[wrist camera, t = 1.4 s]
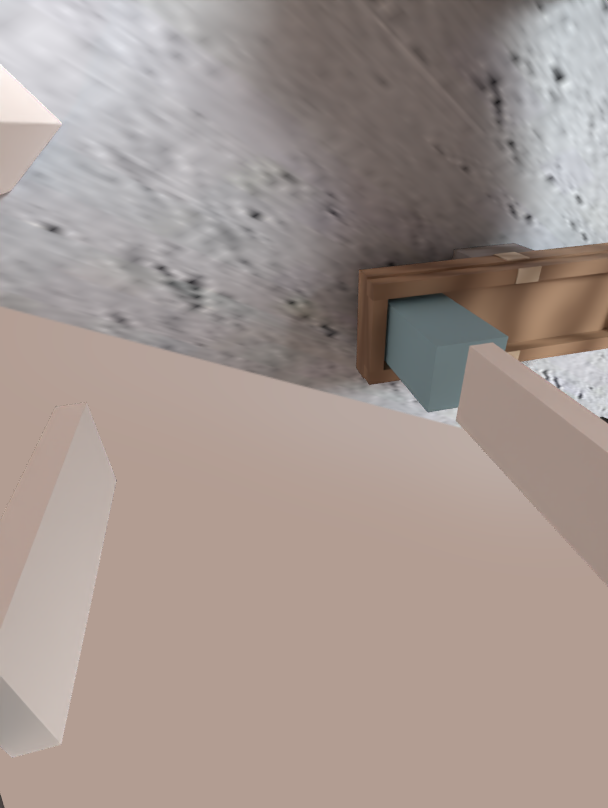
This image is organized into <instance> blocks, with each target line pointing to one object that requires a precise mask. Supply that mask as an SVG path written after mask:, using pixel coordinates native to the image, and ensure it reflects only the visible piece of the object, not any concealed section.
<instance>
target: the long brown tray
mask: <svg viewBox="0 0 608 808" xmlns="http://www.w3.org/2000/svg"><path fill="white" fill-rule="evenodd" d="M437 293H443V294H444V295H446V296H447V297H449V298H450V299H452V300H453V301H455V302H456V303H458V304H459V305H461V306H463V307H464V308H466V309H467V310H469V311H470V312H472V313H473V314H475V315H476V316H478V317H479V318H481V319H482V320H484V321H485V322H487V323H488V324H490V325H491V326H493V327H495V328H496V329H498V330H499V331H501V332H502V333H504V334H505V335H507V336H508V341H507V345H506V349H505V351H506V352H507V353H508V354H510V355H511V356H513V357H514V358H515V359H517V360H518V361H520V362H521V361H527V360H534V359H540V358H547V357H554V356H560V355H567V354H573V353H580V352H586V351H593V350H599V349H606V348H608V243H602V244H593V245H583V246H574V247H565V248H556V249H547V250H537V251H534V250H532V249H529V248H526V247H523V246H520V245H518V244H515V243H511V244H501V245H492V246H482V247H473V248H463V249H454V254H453V260H446V261H437V262H427V263H418V264H409V265H400V266H391V267H381V268H372V269H363V270H359V286H358V323H357V360H356V368H357V370H358V371H359V373H360V374H361V376H362V377H363V378H365V379H366V381H367V382H368V384H369V385H371V384H378V383H384V382H391V381H397V380H400V379H399V377H398V376H397V375H396V374H395V373H394V371H393V370H392V369H391V368H390V367H389V365H388V364H387V363H386V362H385V361H384V354H385V339H386V324H387V309H388V299H396V298H404V297H412V296H420V295H429V294H437Z"/></svg>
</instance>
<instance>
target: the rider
mask: <svg viewBox="0 0 608 808" xmlns="http://www.w3.org/2000/svg"><path fill="white" fill-rule="evenodd" d="M507 341H508V336H507V335H505V334H504V333H502V332H501V331H499V330H498V329H496V328H495V327H493V326H491V325H490V324H488V323H487V322H485V321H484V320H482V319H481V318H479V317H478V316H476V315H475V314H473V313H472V312H470V311H469V310H467V309H466V308H464V307H463V306H461V305H459V304H458V303H456V302H455V301H453V300H452V299H450V298H449V297H447V296H446V295H444V294H443V293H437V294H429V295H420V296H412V297H404V298H396V299H388V309H387V324H386V339H385V354H384V361H385V362H386V363H387V364H388V365H389V367H390V368H391V369H392V370H393V371H394V373H395V374H396V375H397V376H398V377H399V379H400V380H401V381H402V382H403V383H404V385H405V386H406V387H407V388H408V389H409V391H410V392H411V393H412V394H413V395H414V397H415V398H416V399H417V400H418V401H419V403H420V404H421V405H422V406H423V407H424V409H425V410H426V411H427V412H433V411H439V410H445V409H451V408H457V407H458V406H459V401H460V395H461V390H462V384H463V379H464V373H465V368H466V362H467V357H468V351H469V346H471V345H478V344H485V343H492V342H493V343H494V344H496V345H497V346H498V347H500V348H501V349H503V350H504V351H505V349H506V345H507Z"/></svg>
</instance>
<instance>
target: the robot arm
mask: <svg viewBox="0 0 608 808" xmlns="http://www.w3.org/2000/svg"><path fill="white" fill-rule="evenodd" d="M456 421H457V422H458V423H459V424H460V425H461V427H462V428H463V429H464V430H465V431H466V432H467V433H468V434H469V435H470V436H471V437H472V439H473V440H474V441H475V442H476V443H477V444H478V445H479V446H480V447H481V448H482V449H483V450H484V452H485V453H486V454H487V455H488V456H489V457H490V458H491V459H492V460H493V461H494V463H495V464H496V465H497V466H498V467H499V468H500V469H501V470H502V471H503V472H504V474H505V475H506V476H507V477H508V478H509V479H510V480H511V481H512V482H513V483H514V485H515V486H516V487H517V488H518V489H519V490H520V491H521V492H522V493H523V494H524V495H525V497H526V498H527V499H528V500H529V501H530V502H531V503H532V504H533V505H534V506H535V507H536V508H537V510H538V511H539V512H540V513H541V514H542V515H543V516H544V517H545V518H546V520H547V521H548V522H549V523H550V524H551V525H552V526H553V527H554V528H555V529H556V530H557V532H558V533H559V534H560V535H561V536H562V537H563V538H564V539H565V540H566V541H567V543H568V544H569V545H570V546H571V547H572V548H573V549H574V550H575V551H576V552H577V553H578V555H579V556H580V557H581V558H582V559H583V560H584V561H585V562H586V563H587V564H588V566H589V567H591V568H592V570H593V571H594V572H595V573H596V574H597V575H598V576H599V578H600V579H601V580H602V581H603V582H604V583H605V584H606V585H607V586H608V419H606V418H604V417H600V418H599V417H598V416H596V415H595V414H594V413H592V412H591V411H589V410H588V409H587V408H585V407H584V406H582V405H581V404H579V403H578V402H577V401H575V400H574V399H572V398H571V397H569V396H568V395H567V394H565V393H564V392H562V391H561V390H560V389H558V388H557V387H555V386H554V385H552V384H551V383H550V382H548V381H547V380H545V379H544V378H542V377H541V376H540V375H538V374H537V373H535V372H534V371H533V370H531V369H530V368H528V367H527V366H525V365H524V364H523V363H521V362H520V361H518V360H517V359H515V358H514V357H513V356H511V355H510V354H508V353H507V352H506V351H504V350H503V349H501V348H500V347H498V346H497V345H496V344H494V343H493V342H492V343H485V344H478V345H471V346H469V351H468V357H467V362H466V368H465V373H464V379H463V384H462V390H461V395H460V401H459V406H458V412H457V417H456ZM116 481H117V480H116V478H115V475H114V472H113V469H112V467H111V464H110V462H109V459H108V457H107V454H106V451H105V449H104V446H103V443H102V441H101V438H100V436H99V433H98V430H97V428H96V425H95V423H94V420H93V417H92V415H91V412H90V410H89V407H88V404H87V402H84V403H78V404H70V405H63V406H56V407H55V409H54V410H53V413H52V415H51V417H50V419H49V421H48V423H47V425H46V427H45V429H44V431H43V433H42V435H41V438H40V439H39V441H38V443H37V445H36V448H35V449H34V452H33V454H32V456H31V458H30V460H29V462H28V464H27V466H26V468H25V470H24V472H23V474H22V476H21V478H20V480H19V483H18V484H17V487H16V489H15V491H14V493H13V495H12V497H11V499H10V501H9V503H8V505H7V507H6V509H5V511H4V513H3V515H2V518H1V519H0V747H1V748H2V749H3V750H4V751H5V752H6V753H8V754H9V755H10V756H11V757H12V758H13V757H16V756H20V755H24V754H28V753H31V752H35V751H39V750H43V749H46V748H50V747H54V746H58V745H61V743H62V739H63V734H64V729H65V724H66V719H67V715H68V710H69V705H70V700H71V696H72V691H73V685H74V681H75V677H76V671H77V666H78V662H79V657H80V652H81V648H82V643H83V638H84V633H85V629H86V624H87V619H88V614H89V610H90V605H91V600H92V595H93V590H94V586H95V581H96V576H97V571H98V567H99V562H100V557H101V552H102V548H103V543H104V538H105V533H106V528H107V523H108V519H109V514H110V509H111V505H112V499H113V495H114V490H115V486H116ZM0 808H4V805H3V801H2V798H1V795H0Z"/></svg>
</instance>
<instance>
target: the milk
mask: <svg viewBox="0 0 608 808" xmlns="http://www.w3.org/2000/svg"><path fill="white" fill-rule="evenodd" d="M61 125H62V122H61V121H60V120H59V119H58V118H56V117H55V116H54V115H53V114H52V113H51V112H50V111H49V110H48V109H47V108H46V107H45V106H44V105H43V104H42V103H41V102H40V101H39V100H38V99H37V98H35V97H34V96H33V95H32V94H31V93H30V92H29V91H28V90H27V89H26V88H25V87H24V86H23V85H22V84H21V83H20V82H19V81H18V80H17V79H15V78H14V77H13V76H12V75H11V74H10V73H9V72H8V71H7V70H6V69H5V68H4V67H3V66H2V65H1V64H0V195H1V194H4V193H7V192H10V191H11V190H12V189H13V188H14V187H15V185H16V184H17V183H18V181H19V180H20V179H21V177H22V176H23V175H24V174H25V172H26V171H27V170H28V168H29V167H30V166H31V164H32V163H33V162H34V161H35V159H36V158H37V157H38V155H39V154H40V153H41V151H42V150H43V149H44V148H45V146H46V145H47V144H48V142H49V141H50V140H51V138H52V137H53V136H54V134H55V133H56V132H57V131H58V129H59V128H60V127H61Z"/></svg>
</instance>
